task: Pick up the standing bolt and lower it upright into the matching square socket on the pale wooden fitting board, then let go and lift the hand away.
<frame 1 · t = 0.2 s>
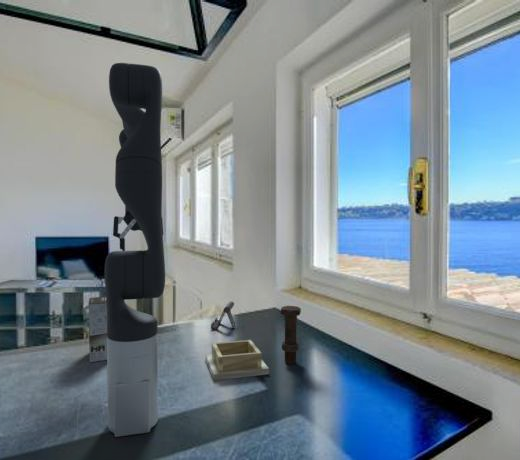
hand: (138, 250, 117), 29 cm above the table, tool pointing down, fingers open, 8 cm apart
fitting board: (235, 366, 103), on the table
coffee box: (101, 356, 111), on the table
portable electronic device stand: (224, 327, 140), on the table
bolt: (290, 363, 107), on the table
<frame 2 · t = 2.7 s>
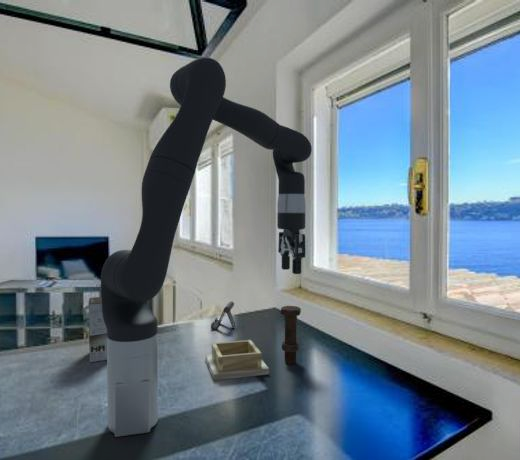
hand: (290, 271, 106), 25 cm above the table, tool pointing down, fingers open, 8 cm apart
nothing on the table moved.
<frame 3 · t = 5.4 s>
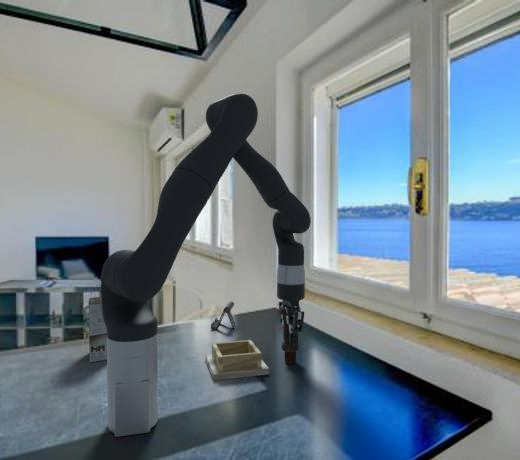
hand: (290, 343, 106), 5 cm above the table, tool pointing down, fingers closed on bolt, 4 cm apart
bolt: (290, 363, 107), on the table, touching gripper
everything else where it was.
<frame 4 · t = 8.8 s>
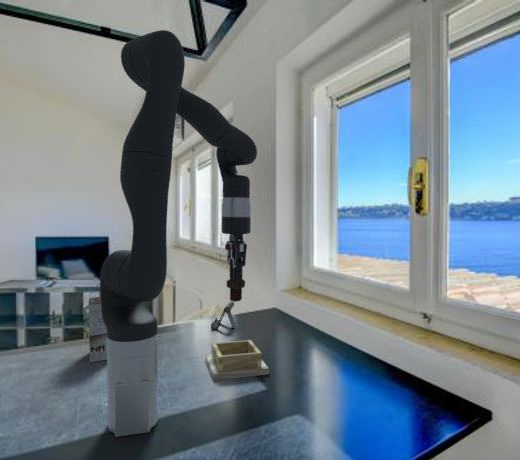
hand: (235, 280, 102), 23 cm above the table, tool pointing down, fingers closed on bolt, 4 cm apart
bolt: (235, 301, 103), point 17 cm above the table, touching gripper
everything else where it was.
when the fingers open (8 cm above the table, at t = 12.3 s): bolt drops 1 cm, resting on fitting board.
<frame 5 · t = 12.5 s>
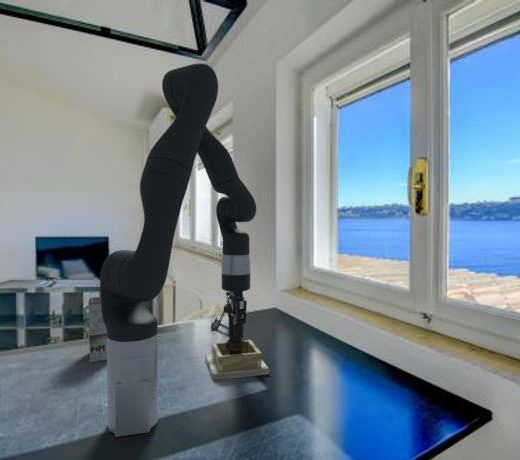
hand: (235, 334, 103), 9 cm above the table, tool pointing down, fingers open, 6 cm apart
bolt: (235, 361, 103), point 1 cm above the table, touching fitting board
everything else where it was.
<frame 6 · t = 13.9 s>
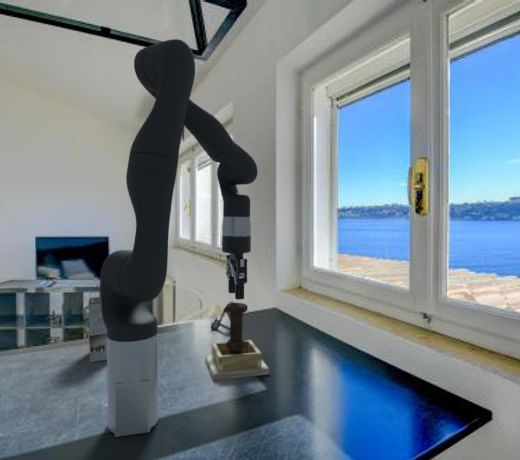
hand: (235, 295, 103), 19 cm above the table, tool pointing down, fingers open, 8 cm apart
nothing on the table moved.
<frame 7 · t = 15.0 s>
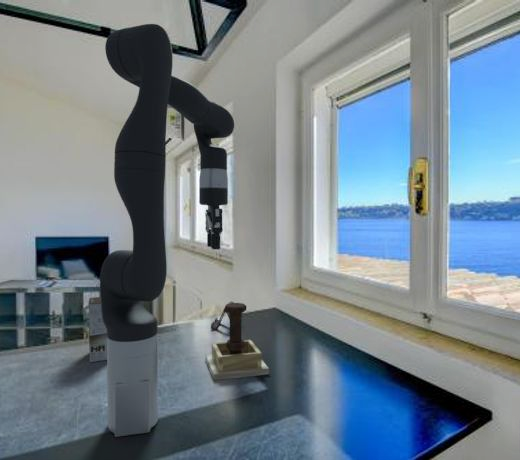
hand: (213, 247, 105), 31 cm above the table, tool pointing down, fingers open, 8 cm apart
nothing on the table moved.
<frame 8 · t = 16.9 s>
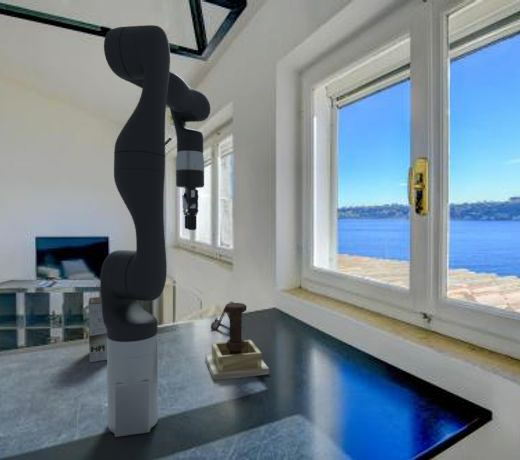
hand: (190, 229, 107), 36 cm above the table, tool pointing down, fingers open, 8 cm apart
nothing on the table moved.
at the end: bolt 0.1 cm off-centre on the fitting board, point 1.3 cm above the fitting board's base; bolt tilted 0°; the gripper is holding nothing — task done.
